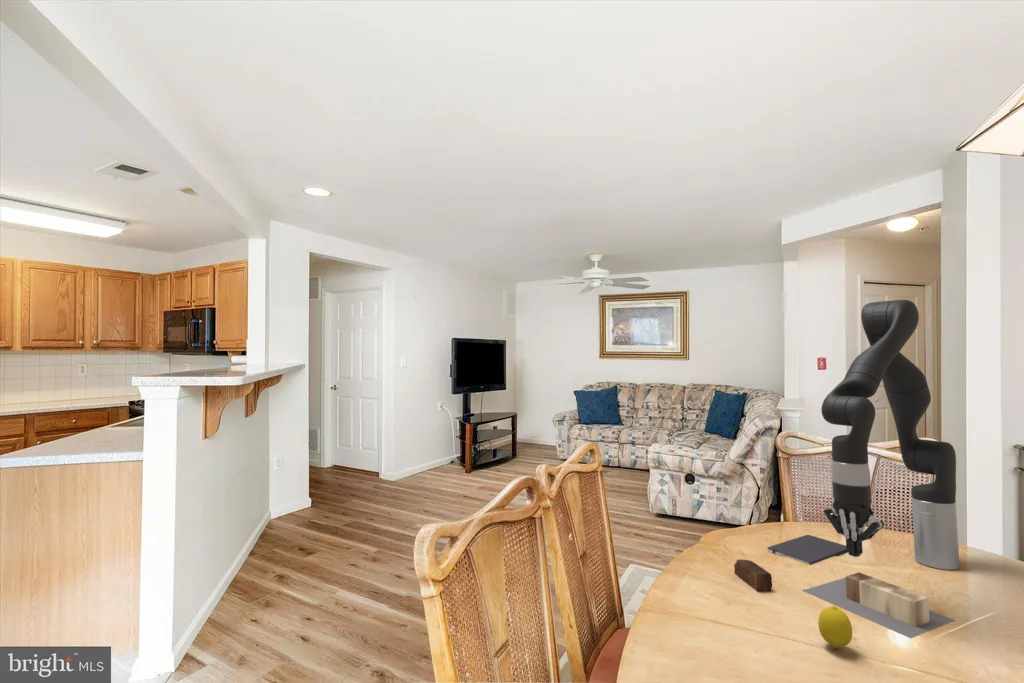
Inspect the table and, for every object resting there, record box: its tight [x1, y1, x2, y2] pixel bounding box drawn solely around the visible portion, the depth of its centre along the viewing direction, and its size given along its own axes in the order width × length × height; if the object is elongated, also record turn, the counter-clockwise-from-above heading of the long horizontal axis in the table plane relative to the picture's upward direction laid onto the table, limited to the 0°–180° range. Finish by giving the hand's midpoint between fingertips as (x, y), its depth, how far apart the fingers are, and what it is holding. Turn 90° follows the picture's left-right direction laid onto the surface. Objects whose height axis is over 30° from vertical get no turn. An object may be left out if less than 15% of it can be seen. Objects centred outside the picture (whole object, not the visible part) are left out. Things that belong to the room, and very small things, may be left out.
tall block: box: [845, 572, 930, 627], centre depth 110 cm, size 5×5×14 cm
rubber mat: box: [802, 577, 956, 639], centre depth 112 cm, size 16×23×1 cm
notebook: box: [767, 534, 848, 565], centre depth 145 cm, size 13×2×21 cm
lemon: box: [817, 605, 853, 650], centre depth 96 cm, size 6×6×8 cm
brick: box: [733, 559, 773, 593], centre depth 124 cm, size 11×4×5 cm, turn 5°
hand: (854, 555), depth 116 cm, fingers closed
